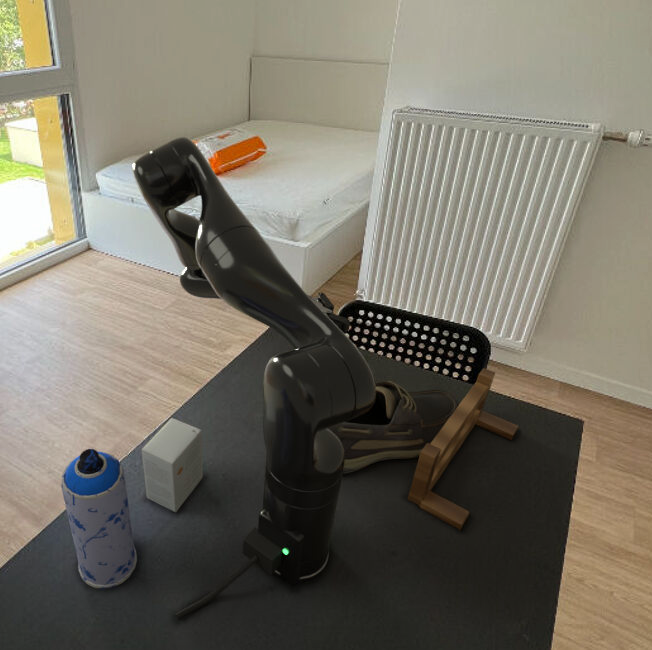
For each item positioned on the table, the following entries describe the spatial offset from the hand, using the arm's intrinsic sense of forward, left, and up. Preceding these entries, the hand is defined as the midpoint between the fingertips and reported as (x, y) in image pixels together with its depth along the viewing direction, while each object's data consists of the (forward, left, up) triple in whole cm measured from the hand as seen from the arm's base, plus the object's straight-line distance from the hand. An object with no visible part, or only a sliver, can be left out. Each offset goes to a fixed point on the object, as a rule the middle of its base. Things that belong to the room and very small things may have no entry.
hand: (347, 327), depth 92 cm
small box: (-35, +8, -17) cm, 40 cm away
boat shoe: (-4, -12, -17) cm, 21 cm away
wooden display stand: (0, -24, -16) cm, 29 cm away
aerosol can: (-50, +6, -17) cm, 53 cm away
